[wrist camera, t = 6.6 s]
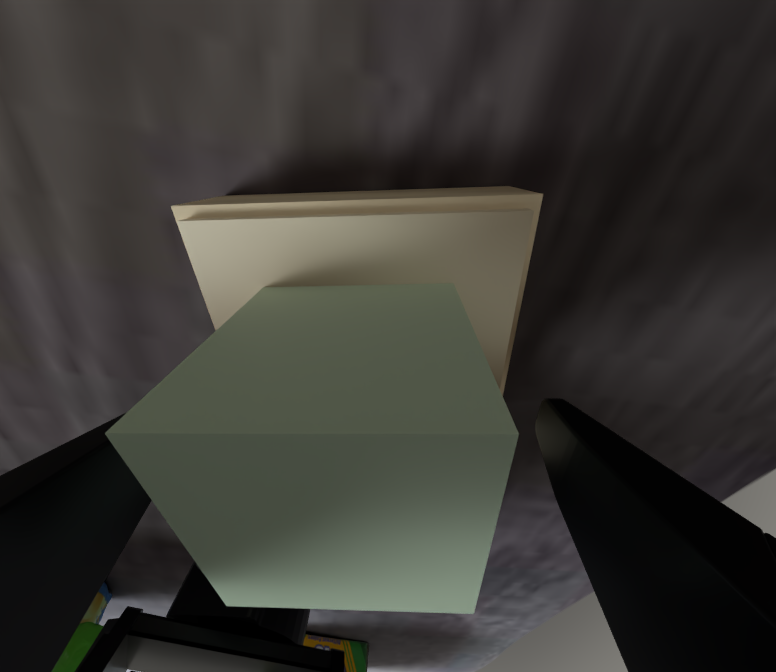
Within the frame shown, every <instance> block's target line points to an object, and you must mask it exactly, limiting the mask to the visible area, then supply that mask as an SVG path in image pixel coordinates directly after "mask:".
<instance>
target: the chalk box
mask: <svg viewBox="0 0 776 672" xmlns="http://www.w3.org/2000/svg"><path fill="white" fill-rule="evenodd" d="M303 645H304V646H309V647H314V648H319V649H324V650H328V651H329V650H330V649H331V648H334V649H339V650H343V651H344V652H345V661H344V672H367V664H368V652H369V644H368V643H366V642H359V641H351V640H344V639H334V638H327V637H320V636H314V635H307V634H305V638H304V643H303Z"/></svg>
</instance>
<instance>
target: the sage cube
mask: <svg viewBox="0 0 776 672" xmlns="http://www.w3.org/2000/svg"><path fill="white" fill-rule="evenodd" d="M105 435H106V436H107V437H108V439H109V440H110V442H111V443H112V444H113V446H114V447H115V449H116V450H117V452H118V453H119V454H120V456H121V457H122V459H123V460H124V461H125V463H126V464H127V466H128V467H129V469H130V470H131V471H132V473H133V474H134V476H135V477H136V479H137V480H138V481H139V483H140V484H141V486H142V487H143V488H144V490H145V491H146V493H147V494H148V496H149V497H150V498H151V500H152V501H153V503H154V504H155V505H156V507H157V508H158V510H159V511H160V513H161V514H162V515H163V517H164V518H165V520H166V521H167V522H168V524H169V525H170V527H171V528H172V530H173V531H174V532H175V534H176V535H177V537H178V538H179V539H180V541H181V542H182V544H183V545H184V547H185V548H186V549H187V551H188V552H189V554H190V555H191V557H192V558H193V559H194V561H195V562H196V564H197V565H198V566H199V568H200V569H201V571H202V572H203V574H204V575H205V576H206V578H207V579H208V581H209V582H210V583H211V585H212V586H213V588H214V589H215V591H216V592H217V593H218V595H219V596H220V598H221V599H222V600H223V602H224V603H225V605H226V606H238V607H270V608H302V609H335V610H367V611H399V612H431V613H464V614H474V611H475V607H476V603H477V599H478V595H479V591H480V587H481V583H482V579H483V575H484V571H485V567H486V563H487V559H488V555H489V551H490V547H491V543H492V539H493V535H494V531H495V528H496V524H497V520H498V516H499V512H500V508H501V504H502V500H503V496H504V492H505V488H506V484H507V480H508V476H509V472H510V468H511V464H512V460H513V456H514V452H515V448H516V444H517V440H518V436H519V433H518V431H517V429H516V426H515V424H514V422H513V419H512V417H511V415H510V412H509V410H508V408H507V405H506V403H505V401H504V399H503V396H502V394H501V392H500V389H499V387H498V385H497V382H496V380H495V378H494V375H493V373H492V371H491V369H490V366H489V364H488V362H487V359H486V357H485V355H484V352H483V350H482V348H481V345H480V343H479V341H478V339H477V336H476V334H475V332H474V329H473V327H472V325H471V322H470V320H469V318H468V315H467V313H466V311H465V309H464V306H463V304H462V302H461V299H460V297H459V295H458V292H457V290H456V288H455V285H454V283H436V284H390V285H344V286H298V287H263V288H262V289H261V290H260V291H259V292H258V293H257V294H256V295H254V296H253V297H252V298H251V299H250V300H249V301H248V302H247V303H246V304H245V305H244V306H242V307H241V308H240V309H239V310H238V311H237V312H236V313H235V314H234V315H233V316H232V317H231V318H229V319H228V320H227V321H226V322H225V323H224V324H223V325H222V326H221V327H220V328H219V329H217V330H216V331H215V332H214V333H213V334H212V335H211V336H210V337H209V338H208V339H207V340H206V341H204V342H203V343H202V344H201V345H200V346H199V347H198V348H197V349H196V350H195V351H194V352H192V353H191V354H190V355H189V356H188V357H187V358H186V359H185V360H184V361H183V362H182V363H181V364H179V365H178V366H177V367H176V368H175V369H174V370H173V371H172V372H171V373H170V374H169V375H167V376H166V377H165V378H164V379H163V380H162V381H161V382H160V383H159V384H158V385H157V386H155V387H154V388H153V389H152V390H151V391H150V392H149V393H148V394H147V395H146V396H145V397H144V398H142V399H141V400H140V401H139V402H138V403H137V404H136V405H135V406H134V407H133V408H132V409H130V410H129V411H128V412H127V413H126V414H125V415H124V416H123V417H122V418H121V419H120V420H119V421H117V422H116V423H115V424H114V425H113V426H112V427H111V428H110V429H109V430H108V431H107V432H105Z"/></svg>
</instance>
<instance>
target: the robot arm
mask: <svg viewBox="0 0 776 672" xmlns="http://www.w3.org/2000/svg"><path fill="white" fill-rule="evenodd" d="M125 414H126V413H125ZM125 414H123V415H121V416H119V417H117V418H115V419H113V420H111V421H109V422H107V423H105V424H103V425H101V426H99V427H97V428H95V429H93V430H91V431H89V432H87V433H85V434H83V435H81V436H79V437H77V438H75V439H73V440H71V441H69V442H67V443H65V444H63V445H61V446H59V447H57V448H55V449H53V450H51V451H49V452H47V453H45V454H43V455H41V456H39V457H37V458H35V459H33V460H31V461H29V462H27V463H25V464H23V465H21V466H19V467H17V468H15V469H13V470H11V471H9V472H7V473H5V474H3V475H1V476H0V672H52V670H53V668H54V667H55V665H56V663H57V662H58V660H59V658H60V656H61V655H62V653H63V651H64V650H65V648H66V646H67V644H68V643H69V641H70V639H71V638H72V636H73V634H74V632H75V631H76V629H77V627H78V626H79V624H80V622H81V621H82V619H83V617H84V615H85V614H86V612H87V610H88V609H89V607H90V605H91V603H92V602H93V600H94V598H95V597H96V595H97V593H98V591H99V590H100V588H101V586H102V585H103V583H104V581H105V579H106V578H107V576H108V574H109V573H110V571H111V569H112V567H113V566H114V564H115V562H116V561H117V559H118V557H119V555H120V554H121V552H122V550H123V549H124V547H125V545H126V543H127V542H128V540H129V538H130V537H131V535H132V533H133V531H134V530H135V528H136V526H137V525H138V523H139V521H140V519H141V518H142V516H143V514H144V513H145V511H146V509H147V507H148V506H149V504H150V502H151V501H152V500H151V498H150V497H149V496H148V494H147V493H146V491H145V490H144V488H143V487H142V486H141V484H140V483H139V481H138V480H137V479H136V477H135V476H134V474H133V473H132V471H131V470H130V469H129V467H128V466H127V464H126V463H125V461H124V460H123V459H122V457H121V456H120V454H119V453H118V452H117V450H116V449H115V447H114V446H113V444H112V443H111V442H110V440H109V439H108V437H107V436H106V435H105V432H107V431H108V430H109V429H110V428H111V427H112V426H113V425H114V424H115V423H116V422H117V421H119V420H120V419H121V418H122V417H123V416H124V415H125ZM535 431H536V436H537V439H538V442H539V446H540V449H541V452H542V456H543V459H544V462H545V465H546V469H547V472H548V475H549V479H550V482H551V485H552V489H553V492H554V495H555V497H556V500H557V503H558V505H559V508H560V510H561V513H562V515H563V517H564V520H565V522H566V524H567V527H568V529H569V532H570V534H571V536H572V539H573V541H574V544H575V546H576V548H577V551H578V553H579V555H580V558H581V560H582V563H583V565H584V567H585V570H586V572H587V575H588V577H589V579H590V582H591V584H592V586H593V589H594V591H595V594H596V596H597V598H598V601H599V603H600V606H601V608H602V610H603V613H604V615H605V618H606V620H607V622H608V625H609V627H610V629H611V632H612V634H613V637H614V639H615V641H616V644H617V646H618V648H619V651H620V653H621V656H622V658H623V660H624V663H625V665H626V667H627V670H628V672H776V538H774V537H773V536H771V535H770V534H768V533H763V531H762V530H761V529H760V528H759V527H757V526H756V525H754V524H753V523H751V522H750V521H748V520H747V519H745V518H744V517H742V516H741V515H739V514H738V513H736V512H735V511H733V510H732V509H730V508H729V507H727V506H726V505H724V504H722V503H721V502H719V501H718V500H716V499H715V498H713V497H712V496H710V495H709V494H707V493H706V492H704V491H703V490H701V489H700V488H698V487H697V486H695V485H694V484H692V483H690V482H689V481H687V480H686V479H684V478H683V477H681V476H680V475H678V474H677V473H675V472H674V471H672V470H671V469H669V468H668V467H666V466H665V465H663V464H662V463H660V462H658V461H657V460H655V459H654V458H652V457H651V456H649V455H648V454H646V453H645V452H643V451H642V450H640V449H639V448H637V447H636V446H634V445H633V444H631V443H630V442H628V441H626V440H625V439H623V438H622V437H620V436H619V435H617V434H616V433H614V432H613V431H611V430H610V429H608V428H607V427H605V426H604V425H602V424H601V423H599V422H598V421H596V420H594V419H593V418H591V417H590V416H588V415H587V414H585V413H584V412H582V411H581V410H579V409H578V408H576V407H575V406H573V405H572V404H570V403H569V402H567V401H565V400H564V399H544V400H543V401H542V403H541V406H540V409H539V413H538V416H537V420H536V424H535ZM309 613H310V609H302V608H270V607H238V606H226V605H225V603H224V602H223V600H222V599H221V598H220V596H219V595H218V593H217V592H216V591H215V589H214V588H213V586H212V585H211V583H210V582H209V581H208V579H207V578H206V576H205V575H204V574H203V572H202V571H201V569H200V568H199V566H198V565H197V564H196V562H195V561H194V563H193V565H192V567H191V569H190V571H189V573H188V574H187V576H186V578H185V580H184V582H183V584H182V586H181V588H180V590H179V592H178V594H177V596H176V598H175V600H174V602H173V604H172V606H171V607H170V609H169V611H168V613H167V615H166V617H167V618H166V617H161V616H157V615H152V614H147V613H143V609H139V608H134V607H129V606H128V607H127V608H126V609H125V610H124V612H123V613H122V615H121V616H120V618H116V619H108V620H107V622H106V624H105V625H104V627H103V628H102V630H101V631H100V633H99V635H98V636H97V638H96V639H95V641H94V642H93V644H92V646H91V647H90V649H89V650H88V652H87V653H86V655H85V656H84V658H83V660H82V661H81V663H80V664H79V666H78V667H77V669H76V670H75V672H126V670H127V669H129V670H135V671H141V672H344V661H345V652H344V651H343V650H339V649H334V648H331V649H330V650H329V651H328V650H324V649H319V648H314V647H309V646H304V645H303V643H304V638H305V633H306V628H307V623H308V618H309ZM135 671H130V672H135Z"/></svg>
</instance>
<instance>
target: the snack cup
mask: <svg viewBox="0 0 776 672" xmlns="http://www.w3.org/2000/svg"><path fill="white" fill-rule="evenodd" d="M111 597H112V594H111V593H109V592H108V588H107V585H106V583H103V585H102V586H101V588H100V590H99V591H98V593H97V595H96V597H95V598H94V600H93V602H92V603H91V605H90V607H89V609H88V610H87V612H86V614H85V615H84V617H83V619H82V621H81V622H80V624H79V626H78V627H77V629H76V631H75V632H74V634H73V636H72V638H71V639H70V641H69V643H68V644H67V646H66V648H65V650H64V651H63V653H62V655H61V656H60V658H59V660H58V662H57V663H56V665H55V667H54V668H53V670H52V672H75V670H76V669H77V667H78V666H79V664H80V663H81V661H82V660H83V658H84V656H85V655H86V653H87V652H88V650H89V649H90V647H91V646H92V644H93V642H94V641H95V639H96V638H97V636H98V635H99V633H100V631H101V630H102V628H103V627H104V626H101V625H99V622H100V620H101V618H102V616H103V613H104V611H105V608H106V606H107V604H108V602H109V601H110V599H111Z"/></svg>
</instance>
